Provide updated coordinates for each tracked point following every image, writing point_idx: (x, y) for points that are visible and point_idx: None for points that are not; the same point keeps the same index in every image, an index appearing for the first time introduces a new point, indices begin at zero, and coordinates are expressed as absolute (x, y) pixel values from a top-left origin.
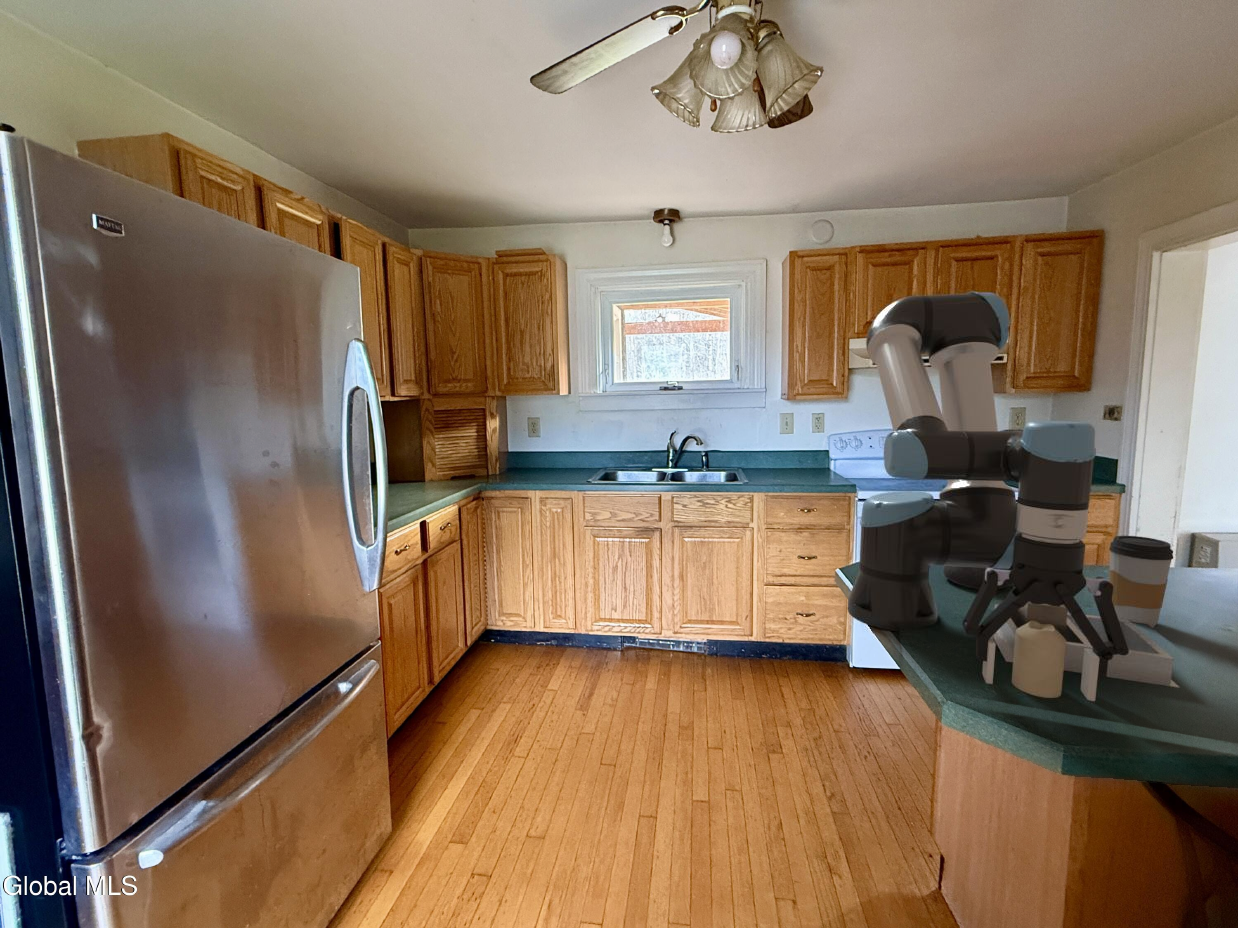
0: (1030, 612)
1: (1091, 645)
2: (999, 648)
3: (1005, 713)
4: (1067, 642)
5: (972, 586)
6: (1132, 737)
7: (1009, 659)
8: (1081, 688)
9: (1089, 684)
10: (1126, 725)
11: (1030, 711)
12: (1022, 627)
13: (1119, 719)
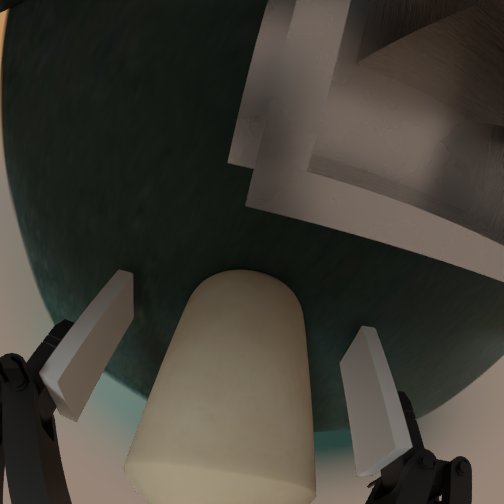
0: (498, 23)
1: (407, 465)
2: (258, 37)
3: (147, 378)
4: (489, 247)
5: None
6: (335, 415)
7: (250, 142)
8: (363, 340)
9: (347, 402)
10: None
11: None
12: (142, 495)
13: None
